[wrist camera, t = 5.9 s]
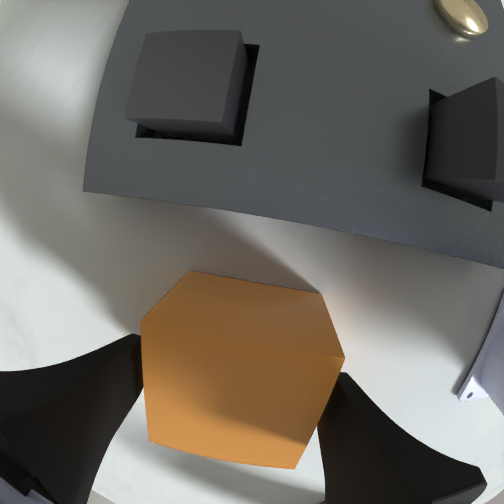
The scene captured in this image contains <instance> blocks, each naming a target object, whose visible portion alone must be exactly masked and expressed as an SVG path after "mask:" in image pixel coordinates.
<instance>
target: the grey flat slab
mask: <svg viewBox="0 0 504 504" xmlns="http://www.w3.org/2000/svg"><path fill="white" fill-rule="evenodd" d="M179 30H238V31H241V34H242V38H243V42H244V46H245V50H246V53H247V57H248V61H249V65H250V70H255V73H254V79H253V84H252V89H251V95H250V100H249V106H248V112H247V117H246V123H245V129H244V135H243V140H242V146H241V147H240V146H233V145H225V144H216V143H206V142H196V141H184V140H170V139H163V134H162V133H160V132H158V131H155V130H153V129H150V128H148V127H145V126H143V125H140V124H138V123H135V122H132V121H130V120H127V119H125V118H124V116H125V111H126V106H127V102H128V97H129V93H130V89H131V85H132V81H133V77H134V73H135V69H136V66H137V62H138V59H139V55H140V52H141V49H142V46H143V42H144V39H145V36H146V33H154V32H164V31H179ZM492 77H496V78H498V79H499V80H501V81H502V82H503V83H504V9H503V6H502V3H501V0H130V2H129V4H128V6H127V9H126V11H125V14H124V16H123V19H122V21H121V24H120V26H119V29H118V32H117V34H116V37H115V40H114V43H113V46H112V49H111V52H110V55H109V58H108V62H107V65H106V68H105V72H104V75H103V79H102V83H101V87H100V91H99V95H98V99H97V103H96V108H95V112H94V117H93V122H92V128H91V133H90V139H89V145H88V152H87V159H86V167H85V175H84V185H83V191H84V192H93V193H102V194H111V195H119V196H128V197H136V198H143V199H151V200H159V201H166V202H173V203H180V204H187V205H194V206H201V207H207V208H214V209H220V210H226V211H233V212H239V213H245V214H251V215H257V216H263V217H269V218H274V219H280V220H286V221H291V222H297V223H302V224H307V225H313V226H318V227H323V228H328V229H333V230H338V231H343V232H348V233H353V234H358V235H363V236H368V237H373V238H377V239H382V240H387V241H391V242H396V243H400V244H405V245H409V246H413V247H418V248H422V249H426V250H431V251H435V252H439V253H443V254H447V255H451V256H456V257H460V258H464V259H467V260H471V261H475V262H479V263H483V264H487V265H491V266H494V267H498V268H502V269H504V203H503V202H497V201H490V200H483V199H479V198H476V197H474V196H471V195H469V194H466V193H464V192H462V193H461V200H459V199H456V198H453V197H451V196H448V195H445V194H442V193H439V192H436V191H433V190H430V189H427V188H424V187H421V183H422V176H423V169H424V161H425V152H426V142H427V130H428V114H431V108H432V104H434V103H436V102H438V101H440V100H442V99H444V98H447V97H449V96H451V95H453V94H455V93H458V92H460V91H462V90H464V89H467V88H469V87H471V86H473V85H476V84H478V83H480V82H483V81H485V80H488V79H490V78H492Z"/></svg>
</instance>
